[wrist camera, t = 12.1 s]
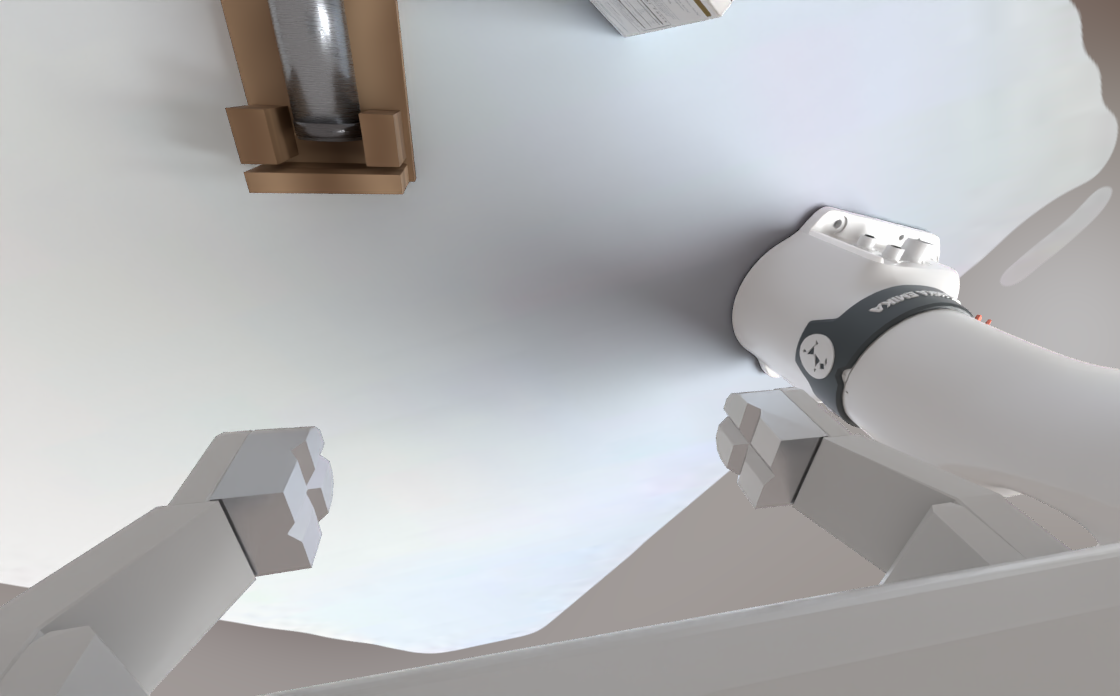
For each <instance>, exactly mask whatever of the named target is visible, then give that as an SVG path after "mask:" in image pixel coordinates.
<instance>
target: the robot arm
mask: <svg viewBox="0 0 1120 696" xmlns="http://www.w3.org/2000/svg"><path fill="white" fill-rule="evenodd" d="M835 221H836V223H835ZM834 223H835V225H834ZM833 225H834V226H833ZM939 254H940V240H939V237H938V236H936V235H934V234H932V233H929V232H926V231H923V230H919V229H915V228H911V227H907V226H904V225H900V224H896V223H892V222H888V221H884V220H880V219H876V218H872V217H868V216H865V215H861V214H857V213H853V212H849V211H845V210H841V209H837V208H833V207H828V206H827V207H823V208H820V209H819V210H818V211H816V212H815V213H814V214H813V215H812V216H811V217H810V218H809V219H808V220H807V221H806V222H805V224H804V225H803V226H802V227H801V228H800V229H799V230H798V231H797V232H796V233H795V234H793V235H792V236H790V237H789V238H787V239H786V240H784V241H782V242H781V243H779V244H777V245H776V246H775V247H773V248H772V249H771V250H769V251H768V252H767V253H766V254H765V255H763V256H762V257H761V258H760V259H759V260H758V261H757V263H756V264H755V265H754V266H753V267H752V268H751V270H750V271H749V272H748V274H747V275H746V277H745V278H744V280H743V282H742V284H741V286H740V288H739V290H738V292H737V295H736V298H735V301H734V305H733V312H732V324H733V329H734V333H735V335H736V337H737V339H738V341H739V342H740V344H741V345H742V346H743V347H744V348H745V349H746V350H748V351H749V352H751V353H752V354H753V355H755V356H756V357H757V358H758V361H759V363H760V366H761V368H762V370H763V371H764V372H765V373H766V374H767V375H769V376H770V377H773V378H776V377H782V378H783V379H785V380H786V381H787V382H789V383H790V384H791V385H793V386H794V387H788V388H779V389H774V390H764V391H753V392H741V393H731V394H730V395H729V397H728V398H727V399H726V402H725V405H724V411H725V412H726V414H727V417H726V418H725V419H724V420H723V421H722V422H721V423H720V424H719V426H718V430H717V434H716V444H717V451H718V453H719V456H720V459H721V460H722V462H723V463H724V465H725V466H726V468H728V469H729V470H731V471H733V472H735V473H736V474H738V483H737V484H738V485H739V487H740V488H741V489H742V491H743V492H744V494H745V495H746V497H747V498H748V500H749V501H750V503H751V504H752V505H753V507H754V508H755V509H757V508H767V507H776V506H786V505H793V508H795V509H796V510H797V511H799V512H800V513H802V514H803V515H805V516H806V517H807V518H809V519H810V520H812V521H813V522H814V523H816V524H817V525H819V526H820V527H821V528H823V529H824V530H826V531H827V532H828V533H830V534H831V535H833V536H834V537H835V538H837V539H838V540H840V541H841V542H842V543H844V544H845V545H847V546H848V547H849V548H851V549H852V550H854V551H855V552H857V553H858V554H859V555H861V556H862V557H864V558H865V559H866V560H868V561H870V562H871V563H872V564H873V565H875V566H876V567H878V568H879V569H880V570H882V571H883V572H885V573H886V575H885V576H884V578H883V579H882V581H881V582H880V584H879V585H876V586H870V587H865V588H859V589H853V590H848V591H842V592H837V593H831V594H826V595H819V596H814V597H808V598H803V599H797V600H792V601H786V602H780V603H775V604H770V605H764V606H758V607H752V608H747V609H741V610H736V611H730V612H724V613H719V614H713V615H708V616H702V617H696V618H691V619H685V620H679V621H674V622H668V623H663V624H658V625H652V626H646V627H640V628H635V629H629V630H623V631H618V632H612V633H607V634H601V635H595V636H591V637H585V638H579V639H573V640H568V641H563V642H556V643H551V644H545V645H539V646H534V647H528V648H523V649H517V650H511V651H506V652H500V653H495V654H489V655H483V656H478V657H472V658H467V659H461V660H456V661H450V662H444V663H438V664H433V665H427V666H421V667H416V668H410V669H405V670H399V671H393V672H388V673H382V674H377V675H371V676H365V677H360V678H354V679H348V680H343V681H337V682H332V683H326V684H321V685H315V686H309V687H303V688H298V689H292V690H287V691H281V692H275V693H270V694H264V695H259V696H1120V369H1115V368H1109V367H1104V366H1100V365H1095V364H1091V363H1086V362H1083V361H1080V360H1077V359H1073V358H1070V357H1067V356H1064V355H1061V354H1059V353H1056V352H1053V351H1051V350H1048V349H1045V348H1043V347H1040V346H1038V345H1035V344H1033V343H1030V342H1028V341H1025V340H1023V339H1021V338H1018V337H1016V336H1013V335H1011V334H1008V333H1006V332H1004V331H1002V330H999V329H997V328H995V327H992V326H990V325H989V324H990V322H991V320H988V321H987V322H986V323H984V322H981V317H982V316H981V315H977V316H976V317H975V318H974V317H973V315H972V314H971V313H970V312H969V311H968V310H967V309H966V308H964V307H963V306H962V305H961V302H959V301H958V300H957V297H958V293H959V286H960V285H959V284H960V282H959V276H958V274H957V272H956V270H954V269H952V268H950V267H948V266H946V265H944V264H941V263H939V262H938V261H939ZM817 402H819V403H822V402H823V403H824V404H825V405H826V406H827V408H828V409H829V410H830V411H831V412H833V413H834V414H835V415H837V416H838V417H841V418H842V419H843V420H844V421H846V422H847V423H848V424H850V425H852V426H855V427H858V428H862V430H864V431H865V432H866V433H867V434H868V435H869V436H870V437H871V438H873V439H874V440H873V439H870V438H868V437H866V436H864V435H861V434H852V433H851V432H850V431H848V429H846V428H845V427H844V426H843V425H842V424H841V423H840V422H839V421H838V420H836V419H835V418H834V417H833V416H832V415H831V414H830V413H829V412H827V411H826V410H825V409H824V408H823V407H822V406H821V405H819V404H818V403H817ZM323 446H324V440H323V437H322V434H321V431H320V429H318V428H317V427H315V426H311V427H294V428H278V429H261V430H254V431H252V430H249V431H234V432H223V433H221V434H219V435H217V436H216V437H215V438H214V439H213V441H212V442H211V444H210V445H209V447H208V448H207V449H206V451H205V452H204V454H203V455H202V457H201V458H200V460H199V461H198V462H197V464H196V465H195V467H194V468H193V470H192V471H191V473H190V474H189V476H188V477H187V478H186V480H185V481H184V483H183V484H182V486H181V487H180V489H179V490H178V491H177V493H176V494H175V496H174V497H173V499H172V500H171V502H170V503H169V504H168V506H160V507H156V508H154V509H153V510H151V511H149V512H148V513H146V514H145V515H143V516H142V517H140V518H139V519H137V520H135V521H134V522H132V523H131V524H129V525H128V526H126V527H124V528H123V529H121V530H120V531H118V532H117V533H115V534H114V535H112V536H110V537H109V538H107V539H106V540H104V541H103V542H101V543H99V544H98V545H96V546H95V547H93V548H92V549H90V550H89V551H87V552H85V553H84V554H82V555H81V556H79V557H78V558H76V559H74V560H73V561H71V562H70V563H68V564H67V565H65V566H63V567H62V568H60V569H59V570H57V571H56V572H54V573H53V574H51V575H49V576H48V577H46V578H45V579H43V580H42V581H40V582H38V583H37V584H35V585H34V586H32V587H31V588H29V589H28V590H26V591H25V592H23V593H22V594H20V595H18V596H17V597H15V598H14V599H12V600H10V601H9V602H7V603H6V604H4V605H3V606H1V607H0V696H151V695H150V693H151V692H152V691H153V690H154V689H155V688H156V687H157V686H158V684H159V683H160V682H161V681H162V680H163V679H164V678H165V677H166V676H167V675H168V674H169V673H170V672H171V670H172V669H173V668H174V667H175V666H176V665H177V664H178V663H179V662H180V661H181V660H182V658H184V657H185V655H186V654H187V653H188V652H189V651H190V650H191V649H192V648H193V647H194V646H195V645H196V644H197V643H198V641H199V640H200V639H201V638H202V637H203V636H204V635H205V634H206V633H207V631H209V630H210V629H211V627H212V626H213V625H214V624H215V623H216V622H217V621H218V620H219V619H220V618H221V617H222V616H223V615H224V614H225V612H226V611H227V610H228V609H229V608H230V607H231V606H232V605H233V604H234V603H235V602H236V601H237V600H238V598H239V597H240V596H241V595H242V594H243V593H244V592H245V591H246V590H247V589H248V588H249V587H250V586H251V585H252V583H253V582H254V581H255V580H256V578H255V577H256V576H263V575H269V574H275V573H282V572H288V571H294V570H300V569H307V568H312V565H313V562H314V558H315V555H316V552H317V549H318V545H319V542H320V539H321V536H322V532H321V529H320V526H319V523H318V522H319V521H320V520H321V519H322V518H323V517H324V516H325V515H327V514H328V513H329V509H330V505H331V502H332V496H333V485H334V483H333V473H332V468H331V465H330V461H328V460H327V459H325V458H324V457H323V456H321V455H320V454H321V451H322V449H323ZM1021 494H1024V495H1027V496H1029V497H1032V498H1034V499H1036V500H1038V501H1040V502H1042V503H1044V504H1047V505H1048V506H1050V507H1052V508H1054V509H1056V510H1058V511H1060V512H1061V513H1063V514H1065V515H1066V516H1068V517H1070V518H1071V519H1073V520H1074V521H1076V522H1077V523H1079V524H1080V525H1082V526H1083V527H1084V528H1085V529H1086V530H1087V531H1088V532H1089V533H1090V534H1092V536H1093V537H1094V538H1095V539H1096V540H1097V542H1098V543H1097V545H1096V546H1095V547H1089V548H1083V549H1078V550H1072V549H1070V548H1069V547H1068V546H1066V545H1065V544H1064V543H1063V542H1061V541H1060V540H1059V539H1057V538H1056V537H1055V536H1053V535H1052V534H1051V533H1050V532H1048V531H1047V530H1046V529H1044V528H1043V527H1042V526H1040V525H1039V524H1038V523H1037V522H1035V521H1034V520H1033V519H1031V518H1030V517H1029V516H1028V515H1026V514H1025V513H1024V512H1022V511H1021V510H1020V509H1018V508H1017V507H1016V506H1015V505H1013V504H1012V503H1011V502H1009V501H1008V500H1007V499H1005V498H1006V497H1011V496H1016V495H1021Z"/></svg>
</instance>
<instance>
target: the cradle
mask: <svg viewBox="0 0 1120 696" xmlns="http://www.w3.org/2000/svg"><path fill="white" fill-rule="evenodd" d="M343 1H344V7H345V14H346V20H347V27H348V33H349V40H350V46H351V53H352V59H353V66H354V72H355V78H356V85H357V91H358V98H359V104H360V111H361V113H359V120H360V126H361V133H362V139H363V140H359V141H347V142H320V141H307V140H301V139H298V137H297V135H296V132H295V128H294V123H293V120H294V119H293V114H292V109H291V105H290V100H289V96H288V91H287V87H286V82H285V78H284V73H283V69H282V64H281V60H280V55H279V51H278V46H277V42H276V37H275V33H274V28H273V24H272V19H271V15H270V10H269V6H268V1H267V0H221V4H222V7H223V11H224V15H225V19H226V23H227V26H228V30H229V34H230V38H231V42H232V45H233V49H234V53H235V57H236V61H237V64H238V68H239V72H240V76H241V80H242V83H243V87H244V91H245V95H246V98H247V102H248V105H246V106H238V107H230V108H225V109H226V112H227V116H228V119H229V123H230V126H231V130H232V133H233V137H234V140H235V144H236V147H237V151H238V154H239V158H240V161H241V164H262V165H260V166H258V167H255V168H253V169H251V170H248V171H246V172H244V175H245V178H246V182H247V185H248V189H249V192H250V193H328V194H403V193H404V191H405V189H406V187H407V185H408V183H409V182H415V180H416V173H415V163H414V154H413V145H412V135H411V126H410V116H409V107H408V97H407V88H406V78H405V69H404V60H403V50H402V41H401V31H400V22H399V12H398V3H397V0H343Z"/></svg>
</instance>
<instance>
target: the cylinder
mask: <svg viewBox="0 0 1120 696" xmlns="http://www.w3.org/2000/svg"><path fill="white" fill-rule="evenodd" d="M267 1H268V6H269V10H270V15H271V19H272V24H273V28H274V33H275V37H276V42H277V46H278V51H279V55H280V60H281V64H282V69H283V73H284V78H285V82H286V87H287V91H288V96H289V100H290V105H291V109H292V114H293V119H294V120H293V123H294V128H295V132H296V135H297V137H298V139H301V140H307V141H320V142H347V141H359V140H363V139H362V133H361V126H360V120H359V113H361V111H360V104H359V98H358V91H357V85H356V78H355V72H354V66H353V59H352V53H351V46H350V40H349V33H348V27H347V20H346V14H345V7H344V1H343V0H267Z"/></svg>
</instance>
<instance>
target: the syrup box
mask: <svg viewBox="0 0 1120 696" xmlns="http://www.w3.org/2000/svg"><path fill="white" fill-rule="evenodd" d="M590 2H591V3H592V4H593V5H594V6H595V7H596V8H597V9H598V10H599V11H600V12H601V13H602V14H603V15H604V16H605V18H606V19H607V20H608V21H609V22H610V23H611V24H612V25H613V26H614V27H615V28H616V29H617V30H618V31H619V33H620V34H621V35H622V36H623V37H630V36H634V35H639V34H644V33H648V32H653V31H658V30H662V29H666V28H671V27H676V26H681V25H686V24H691V23H695V22H700V21H705V20H709V19H714V18H719V17H722V15H723V14H724V13H725V11H726V10H727V8H728V7H729V6H730V5H731V3H732V2H733V0H590Z"/></svg>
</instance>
